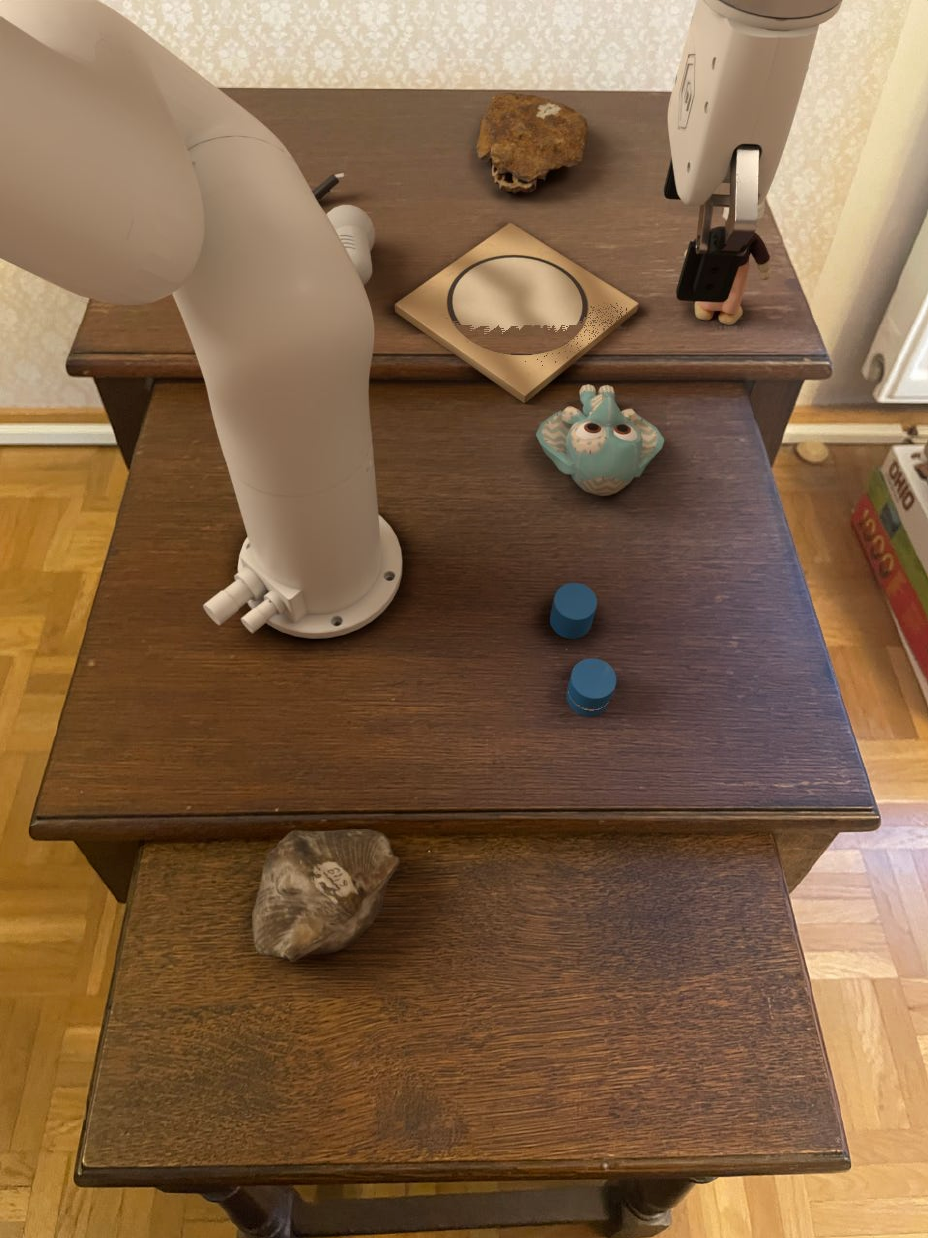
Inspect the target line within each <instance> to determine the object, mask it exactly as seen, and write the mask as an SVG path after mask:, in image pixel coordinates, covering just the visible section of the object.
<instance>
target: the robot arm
mask: <svg viewBox="0 0 928 1238" xmlns="http://www.w3.org/2000/svg"><path fill="white" fill-rule="evenodd" d="M843 1H844V0H696V4H695V6H694V9H693V14H692V17H691V21H690V23H689V28H688V32H687V35H686V39H685V42H684V46H683V49H682V53H681V56H680V60H679V64H678V67H677V72H676V75H675V78H674V83H673V86H672V90H671V94H670V97H669V102H668V107H667V129H668V131H667V132H668V139H669V147H670V155H671V158H670V161H669V166H668V170H667V174H666V178H665V182H664V186H663V196H664V198H666V199H668V200H678V201H681V202H682V203H683V204H684V206H692V205H695V206H696V205H697V206H699V213H698V219H697V221H698V222H697V229H696V237H695V239H696V241H694V240H693V241H692V240H689V242H688V246H687V249H688V250H687V249H686V250H687V253H686V257H684V261H683V264H682V268H681V271H680V275H679V277H678V278H679V279H678V281H677V284H676V285H677V286H676V289H675V294H676V299H677V300H678V301H681V302H696V301H698V302H719V303H721V302H725V301H726V300H727V299H728V297H729V294H730V291H731V288H732V285H733V283H734V280H735V277H736V274H737V271H738V268H739V265H740V262H741V259H742V257H743V256H744V255H745V253H746V249H747V247H748V246H749V245H750V244H749V241H751V237H752V236H753V234H754V233H756V230H757V227H758V225H757V218H758V206H759V205H760V204H761V203H762V202H763V201H764V200H766V198H767V196H768V193H769V191H770V189H771V187H772V184H773V182H774V179H775V177H776V174H777V171H778V168H779V165H780V163H781V160H782V157H783V153H784V151H785V148H786V144H787V141H788V140H789V139H788V138H789V136H790V132H791V129H792V125H793V123H794V119H795V115H796V113H797V108H798V105H799V102H800V99H801V96H802V91H803V88H804V85H805V81H806V77H807V73H808V72H809V68H810V63H811V58H812V55H813V51H814V46H815V43H816V39H817V35H818V31H819V27H820V25H822V24H824V23H826V22H828V21H829V20H831V19H833V17H834V16H835V15H836V14H838V12H839V10H840V8H841V6H842V4H843ZM721 184H729V194H723V193H722V194H720V193H715V191H716V190H718V188H719V187H720V185H721ZM312 191H313V190H312V189H311V187H310V185H309V184H308V182H307V180H306V178H305V177H304V174H303V172H302V170H301V169H300V167H299V165H298V164H297V162H296V160H295V159H294V157H293V156H292V154H291V153H290V151H289V150H288V148H287V147H286V146H285V145H284V143H283V142H282V141H281V140H280V139H279V138H278V136H276V135H275V134H274V133H273V131H271V130H270V129H269V128H268V127H267V126H266V125H265V124H263V123H262V122H261V121H260V120H259V119H258V118H256V116H254V115H253V114H252V113H250V111H248V110H247V109H245V108H244V107H243V106H241V105H240V104H239V103H238V102H236V101H235V100H234V99H232V98H231V97H229V95H227V94H226V93H225V92H224V91H222V90H221V89H220V88H218V87H217V86H216V85H214V84H213V83H212V82H210V81H209V80H208V79H206V78H205V77H204V76H202V75H201V74H200V73H199V72H198V71H196V70H195V69H193V68H192V67H191V66H190V65H188V64H187V63H186V62H184V61H183V60H182V59H181V58H179V57H178V56H177V55H176V54H174V53H173V52H171V50H169V49H167V48H166V47H165V46H164V45H163V44H161V43H160V42H159V41H157V40H156V39H155V38H153V37H152V36H151V35H150V34H148V33H147V32H146V31H145V30H143V29H142V28H141V27H139V26H138V25H137V24H135V23H134V22H132V21H131V20H130V19H128V17H125V16H124V15H123V14H121V13H120V12H118V11H117V10H116V9H114V8H113V7H111V6H109V5H107V4H105V3H104V2H101V1H100V0H0V259H1V260H2V261H4V262H6V263H9V264H12V265H13V266H15V267H17V268H20V269H22V270H24V271H26V272H28V273H30V274H31V275H34V276H36V277H37V278H40V279H42V280H44V281H46V282H48V283H50V284H53V285H55V286H57V287H59V288H60V289H63V290H65V291H67V292H69V293H72V294H74V295H77V296H79V297H82V298H87V299H90V300H93V301H97V302H100V303H105V304H108V305H114V306H126V307H130V306H131V307H132V306H142V305H147V304H152V303H155V302H158V301H160V300H163V299H166V298H167V297H169V296H171V295H172V297H173V299H174V302H175V304H176V306H177V309H178V311H179V313H180V316H181V318H182V321H183V324H184V326H185V329H186V331H187V334H188V336H189V339H190V342H191V344H192V347H193V350H194V353H195V356H196V359H197V361H198V365H199V368H200V371H201V374H202V377H203V379H204V380H203V381H204V383H205V387H206V392H207V397H208V401H209V406H210V411H211V415H212V419H213V422H214V427H215V430H216V434H217V438H218V440H219V445H220V449H221V451H222V454H223V458H224V460H225V463H226V466H227V469H228V474H229V476H230V480H231V483H232V487H233V490H234V493H235V498H236V501H237V504H238V508H239V511H240V515H241V519H242V521H243V525H244V528H245V532H246V536H247V537H246V538H245V540H244V542H243V543H242V547H241V549H240V552H239V555H238V564H237V573H236V574H234V575H233V578H234V581H233V582H231V584H230V585H228V586H227V587H226V588H224V589H221V590H220V591H219V592H218V593H216V594H215V595H214V596H212V598H210V599H208V600H207V601H206V602H205V603H204V604H203V605H202V607H203V610H204V611H205V613H206V614H207V615H208V617H209V618H210V619H211V620H212V621H213V622H214V623H215V624H216V625H218V626H222V625H223V624H224V623H225V622H226V621H228V620H229V619H230V618H232V616H234V615H236V613H238V612H239V611H240V608H242V607H243V606H244V605H246V604H247V605H248V607H249V608H250V609H251V610H250V611H248V612H247V613H246V614H244V615H243V616H242V617H241V618H240V622H241V623H242V624H243V626H244V627H245V629H247V630H248V631H249V632H250V633H251V634H255V632H257V631H258V630H259V629H260V628H261V627H263V626H264V625H268V626H269V627H272V628H273V629H275V630H277V631H279V632H281V633H283V634H287V635H289V636H293V637H297V638H303V639H313V640H314V639H315V640H317V639H330V638H337V637H340V636H345V635H347V634H350V633H352V632H355V631H358V630H360V629H362V628H364V627H365V626H367V625H368V624H371V623H372V622H373V621H374V620H375V619H377V618H378V617H379V616H380V615H381V614H383V613H384V611H385V610H386V609H387V608H388V607H389V605H390V604H391V603H392V601H393V600H394V599H395V598H394V597H395V596H396V595H397V593H398V590H399V587H400V584H401V581H402V576H403V553H402V548H401V545H400V541H399V539H398V536H397V535H396V533H395V531H394V530H393V528H392V526H391V524H389V523H388V522H387V520H385V519H384V517H383V516H382V515H380V514H379V504H378V493H377V492H378V491H377V481H376V480H377V479H376V468H375V456H374V444H373V432H372V431H373V430H372V425H371V411H370V393H369V392H370V391H369V389H370V374H371V373H370V372H371V368H372V367H371V366H372V361H373V360H372V359H373V354H374V348H375V322H374V315H373V310H372V307H371V303H370V299H369V297H368V294H367V291H366V289H365V285H364V286H363V283H362V281H361V279H360V276H359V274H358V272H357V270H356V268H355V266H354V264H353V262H352V260H351V258H350V256H349V254H348V252H347V250H346V248H345V247H344V245H343V243H342V241H341V239H340V238H339V236H338V234H337V232H336V230H335V229H334V227H333V225H332V223H331V221H330V220H329V218H328V216H327V213H326V212H325V210H324V209H323V208H322V206H321V205H320V203H319V200H318V201H317V200H316V198H315V196H314V194H313V192H312ZM724 207H726V208H729V214H728V218H727V220H726V219H725V222H724V226H725V228H717V229H715V230H713V231H711V229H712V223H713V216H714V208H724Z"/></svg>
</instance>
